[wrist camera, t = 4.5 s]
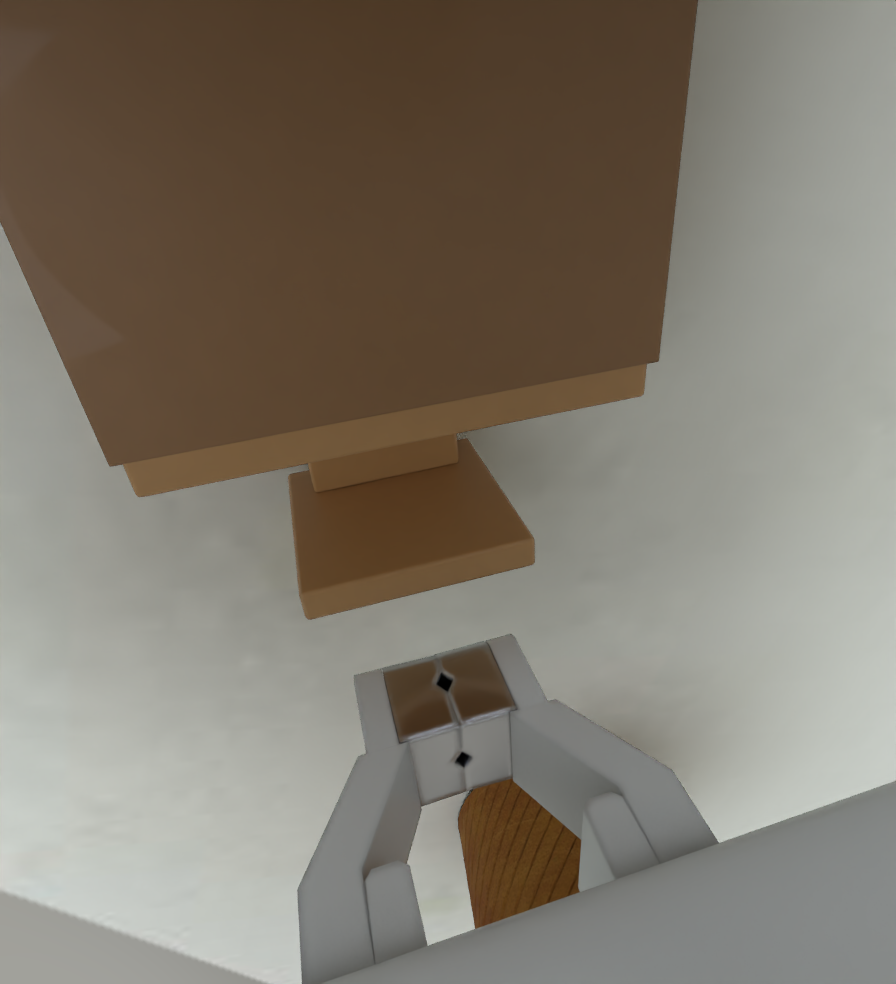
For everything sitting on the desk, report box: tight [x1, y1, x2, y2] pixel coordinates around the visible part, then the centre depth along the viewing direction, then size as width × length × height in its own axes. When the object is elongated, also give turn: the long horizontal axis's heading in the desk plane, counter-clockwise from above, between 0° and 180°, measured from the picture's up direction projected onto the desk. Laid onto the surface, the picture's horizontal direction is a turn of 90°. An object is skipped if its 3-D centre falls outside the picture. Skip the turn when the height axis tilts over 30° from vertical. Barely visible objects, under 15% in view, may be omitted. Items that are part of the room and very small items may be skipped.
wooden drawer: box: [0, 0, 698, 620], centre depth 10 cm, size 9×7×5 cm
